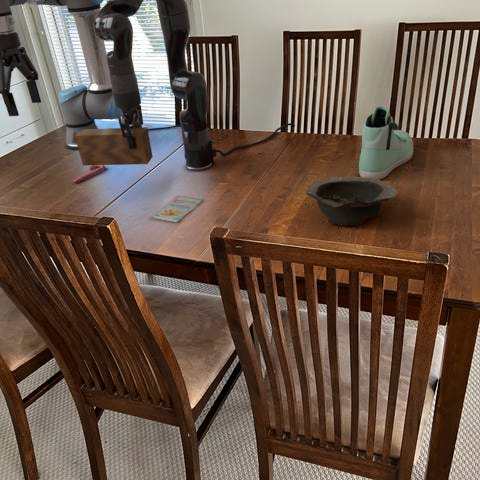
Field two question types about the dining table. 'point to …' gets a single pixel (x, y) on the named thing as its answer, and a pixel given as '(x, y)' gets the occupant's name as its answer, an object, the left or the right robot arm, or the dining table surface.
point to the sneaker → (383, 145)
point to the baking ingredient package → (176, 209)
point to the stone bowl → (350, 198)
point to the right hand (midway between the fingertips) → (136, 144)
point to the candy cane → (100, 168)
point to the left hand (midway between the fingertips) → (25, 109)
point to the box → (113, 147)
